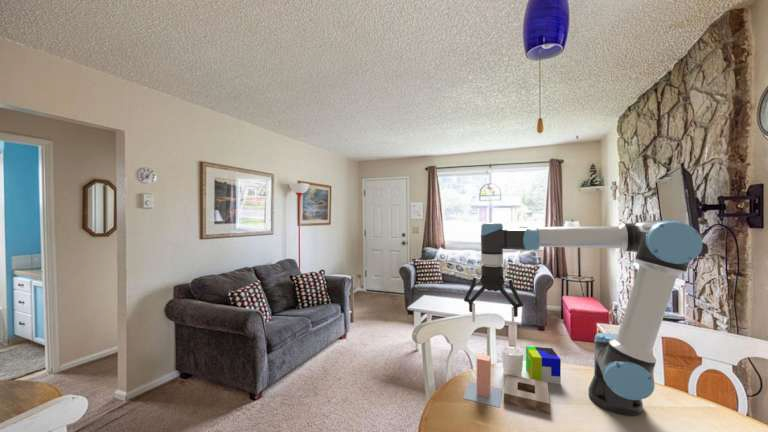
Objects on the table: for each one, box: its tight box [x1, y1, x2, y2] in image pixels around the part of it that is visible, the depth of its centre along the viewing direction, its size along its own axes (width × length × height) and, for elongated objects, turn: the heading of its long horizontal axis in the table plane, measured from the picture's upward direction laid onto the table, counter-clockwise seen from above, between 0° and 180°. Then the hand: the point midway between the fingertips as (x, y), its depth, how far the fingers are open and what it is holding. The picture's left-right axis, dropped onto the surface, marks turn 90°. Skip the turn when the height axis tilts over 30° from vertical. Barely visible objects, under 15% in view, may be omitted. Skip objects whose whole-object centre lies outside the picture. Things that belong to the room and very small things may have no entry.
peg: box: [476, 353, 492, 398], centre depth 111 cm, size 4×4×13 cm
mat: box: [463, 381, 503, 408], centre depth 111 cm, size 12×12×1 cm
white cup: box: [501, 346, 524, 377], centre depth 125 cm, size 8×8×10 cm
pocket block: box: [503, 374, 551, 415], centre depth 109 cm, size 14×14×4 cm
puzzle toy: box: [525, 345, 562, 385], centre depth 124 cm, size 10×10×10 cm
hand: (493, 323), depth 113 cm, fingers open, 13 cm apart
